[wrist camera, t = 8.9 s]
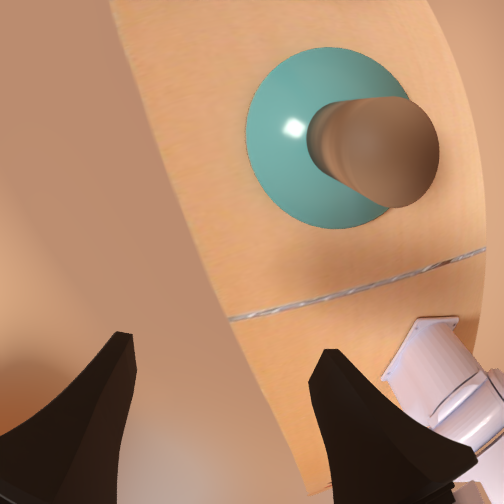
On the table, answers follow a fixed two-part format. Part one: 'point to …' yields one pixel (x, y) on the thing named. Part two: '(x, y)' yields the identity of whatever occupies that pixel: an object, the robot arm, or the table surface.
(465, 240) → the table surface
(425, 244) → the table surface
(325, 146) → the walnut cylinder
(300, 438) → the table surface
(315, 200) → the teal rounded disc
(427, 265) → the table surface
